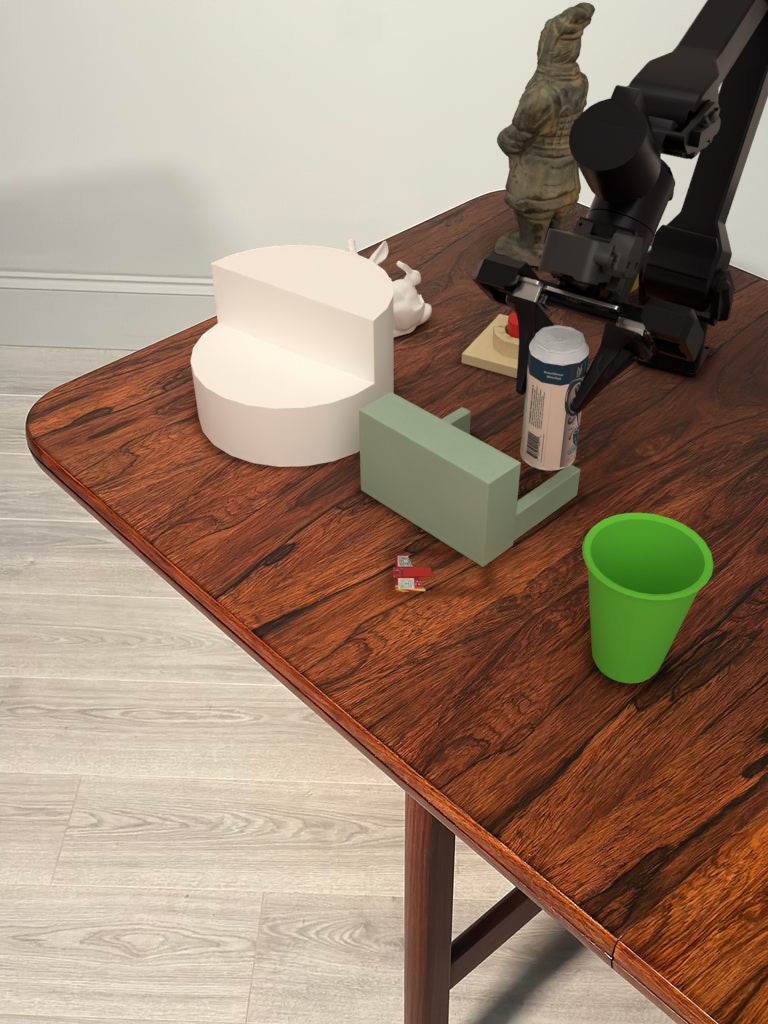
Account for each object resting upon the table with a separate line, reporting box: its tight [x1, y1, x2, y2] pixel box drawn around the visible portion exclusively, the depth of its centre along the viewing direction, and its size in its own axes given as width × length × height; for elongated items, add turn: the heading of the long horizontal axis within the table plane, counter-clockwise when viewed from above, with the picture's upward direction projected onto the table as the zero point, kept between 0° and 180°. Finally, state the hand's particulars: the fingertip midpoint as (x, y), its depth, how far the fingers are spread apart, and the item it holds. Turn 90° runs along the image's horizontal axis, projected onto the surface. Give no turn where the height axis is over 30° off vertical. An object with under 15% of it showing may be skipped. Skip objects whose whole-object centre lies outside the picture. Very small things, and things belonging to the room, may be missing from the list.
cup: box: [581, 512, 714, 684], centre depth 77 cm, size 9×9×11 cm
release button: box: [507, 311, 519, 339], centre depth 113 cm, size 4×4×2 cm
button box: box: [461, 313, 519, 379], centre depth 114 cm, size 10×10×3 cm
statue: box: [493, 1, 596, 267], centre depth 125 cm, size 11×9×30 cm
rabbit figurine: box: [346, 238, 433, 339], centre depth 117 cm, size 12×8×10 cm, turn 103°
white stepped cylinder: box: [190, 244, 395, 468], centre depth 103 cm, size 20×20×13 cm
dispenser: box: [359, 392, 582, 568], centre depth 93 cm, size 14×15×9 cm
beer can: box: [519, 324, 590, 472], centre depth 87 cm, size 5×5×12 cm
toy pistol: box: [392, 554, 434, 593], centre depth 88 cm, size 8×1×5 cm
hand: (546, 402), depth 85 cm, fingers closed on beer can, 5 cm apart
